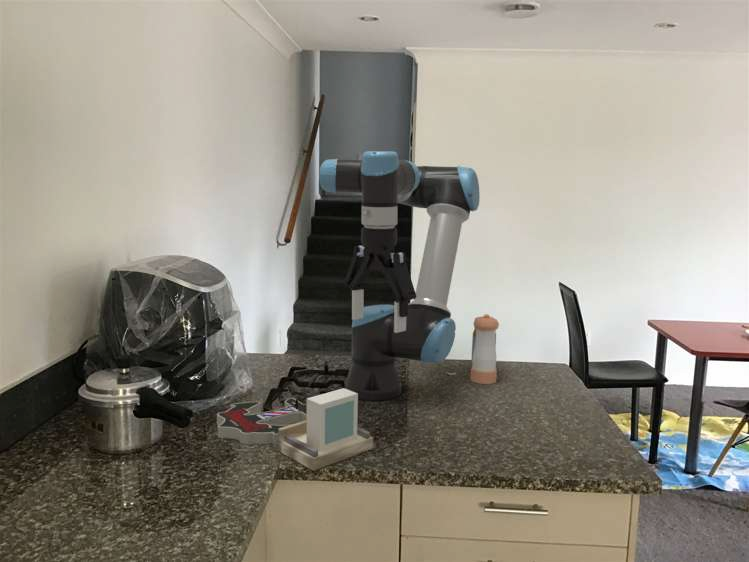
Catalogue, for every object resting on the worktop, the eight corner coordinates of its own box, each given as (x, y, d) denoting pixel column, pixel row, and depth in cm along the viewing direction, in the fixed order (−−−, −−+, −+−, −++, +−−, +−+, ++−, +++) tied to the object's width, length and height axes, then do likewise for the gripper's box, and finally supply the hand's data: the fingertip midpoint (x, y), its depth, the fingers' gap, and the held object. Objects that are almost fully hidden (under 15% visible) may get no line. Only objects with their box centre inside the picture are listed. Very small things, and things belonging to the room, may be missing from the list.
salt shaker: (470, 375, 194) (473, 311, 191) (495, 377, 193) (499, 312, 190) (470, 383, 187) (473, 316, 183) (496, 385, 186) (500, 318, 182)
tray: (278, 451, 140) (278, 428, 139) (336, 431, 151) (337, 410, 150) (313, 470, 131) (313, 446, 130) (373, 448, 142) (373, 426, 141)
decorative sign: (197, 411, 155) (308, 388, 172) (198, 423, 155) (308, 398, 173) (240, 443, 137) (358, 414, 155) (240, 456, 138) (358, 425, 156)
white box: (306, 444, 137) (306, 398, 136) (343, 432, 144) (343, 388, 142) (320, 451, 134) (320, 404, 132) (357, 438, 141) (358, 393, 139)
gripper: (328, 222, 145) (328, 316, 150) (408, 233, 127) (406, 340, 131) (354, 220, 150) (354, 311, 155) (435, 230, 132) (432, 333, 136)
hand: (378, 324), depth 143 cm, fingers open, 13 cm apart
